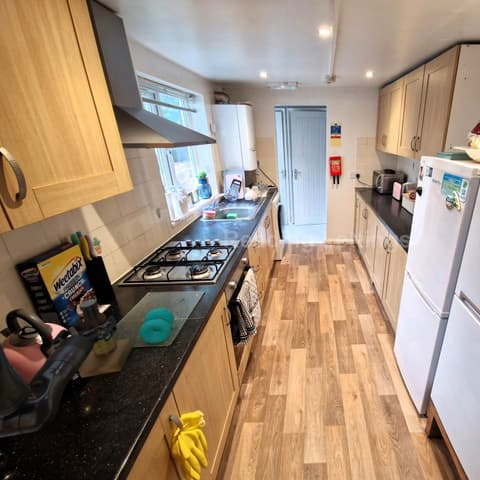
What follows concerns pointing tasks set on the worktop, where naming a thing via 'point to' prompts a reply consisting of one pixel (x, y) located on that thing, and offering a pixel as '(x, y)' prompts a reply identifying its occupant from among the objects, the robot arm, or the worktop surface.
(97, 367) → the oak block
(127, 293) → the worktop surface
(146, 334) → the donuts
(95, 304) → the sauce bottle
